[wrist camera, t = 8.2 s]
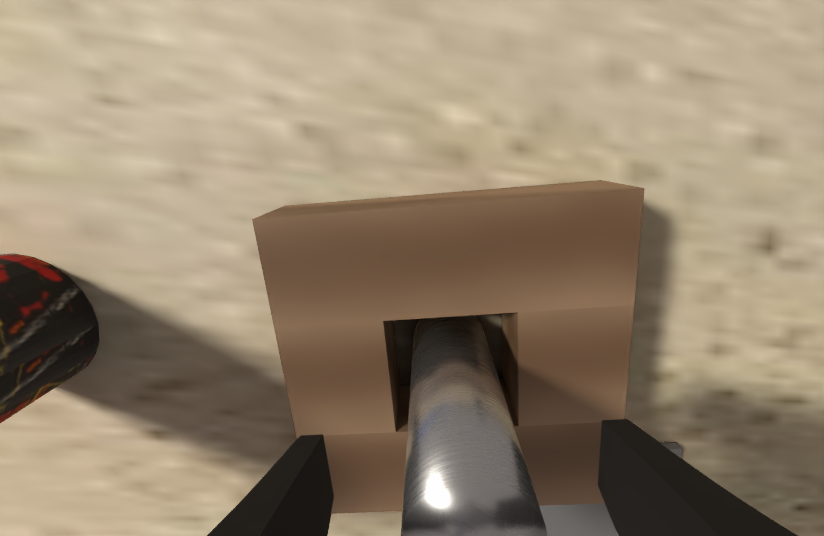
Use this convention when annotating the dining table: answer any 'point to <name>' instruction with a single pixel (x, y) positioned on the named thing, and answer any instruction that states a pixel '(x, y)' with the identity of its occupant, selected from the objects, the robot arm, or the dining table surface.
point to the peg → (462, 441)
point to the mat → (584, 515)
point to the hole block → (456, 296)
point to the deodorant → (40, 331)
